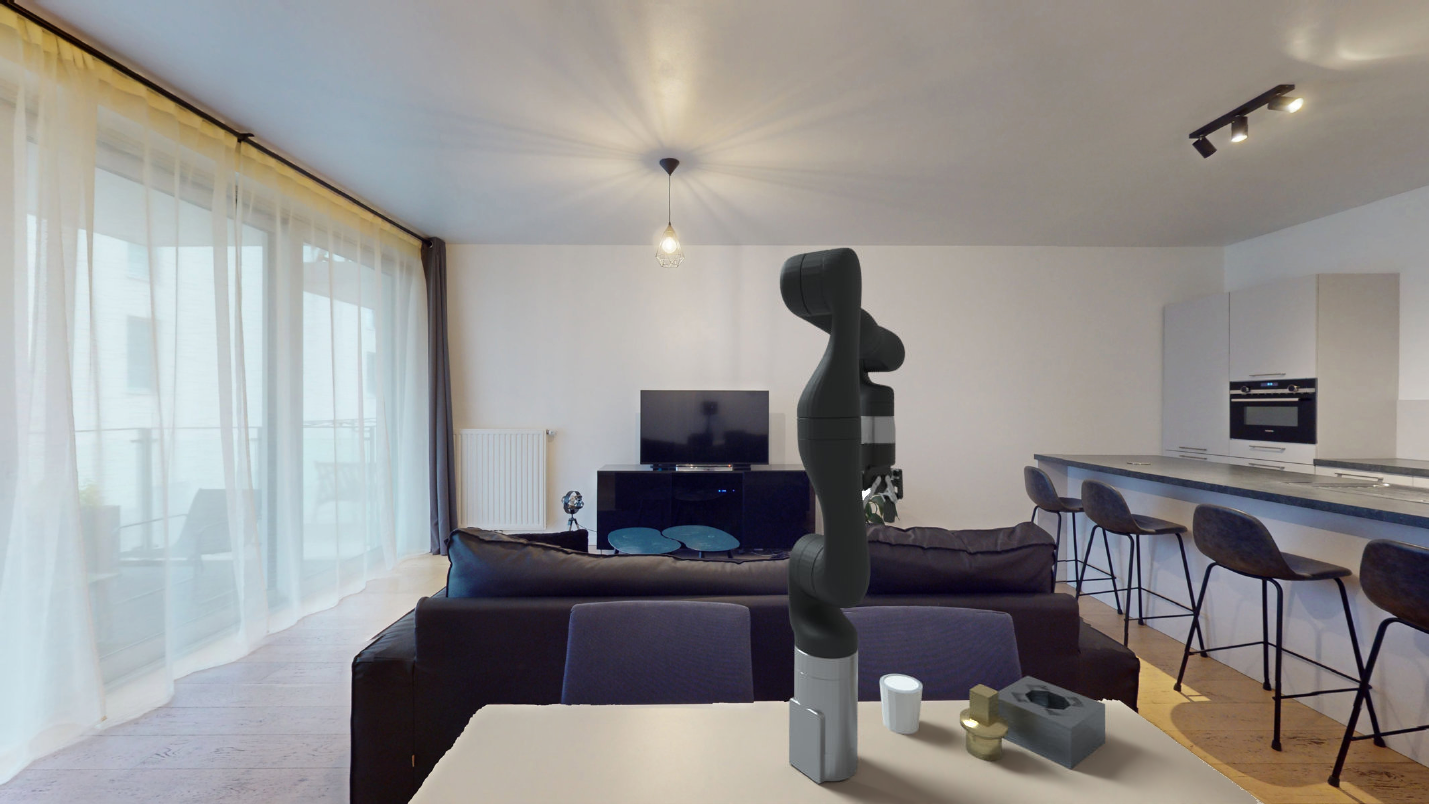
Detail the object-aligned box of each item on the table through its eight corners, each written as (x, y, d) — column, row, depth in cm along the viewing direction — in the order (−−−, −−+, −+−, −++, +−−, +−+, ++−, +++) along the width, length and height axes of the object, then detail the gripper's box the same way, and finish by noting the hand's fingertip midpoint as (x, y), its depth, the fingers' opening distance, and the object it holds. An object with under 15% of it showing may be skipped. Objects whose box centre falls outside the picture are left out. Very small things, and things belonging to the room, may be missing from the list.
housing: (1071, 769, 86) (1071, 728, 86) (991, 732, 95) (991, 695, 95) (1105, 742, 93) (1105, 704, 93) (1027, 710, 102) (1027, 675, 103)
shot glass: (927, 721, 99) (927, 679, 99) (916, 741, 93) (917, 696, 93) (886, 709, 102) (886, 669, 102) (873, 727, 97) (874, 685, 97)
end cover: (993, 770, 85) (994, 707, 85) (950, 747, 91) (951, 688, 91) (1016, 753, 90) (1017, 692, 89) (974, 732, 95) (974, 675, 95)
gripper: (882, 438, 119) (882, 518, 119) (834, 440, 111) (834, 526, 111) (914, 439, 113) (914, 524, 113) (866, 442, 105) (865, 533, 105)
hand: (874, 525), depth 112 cm, fingers open, 8 cm apart
